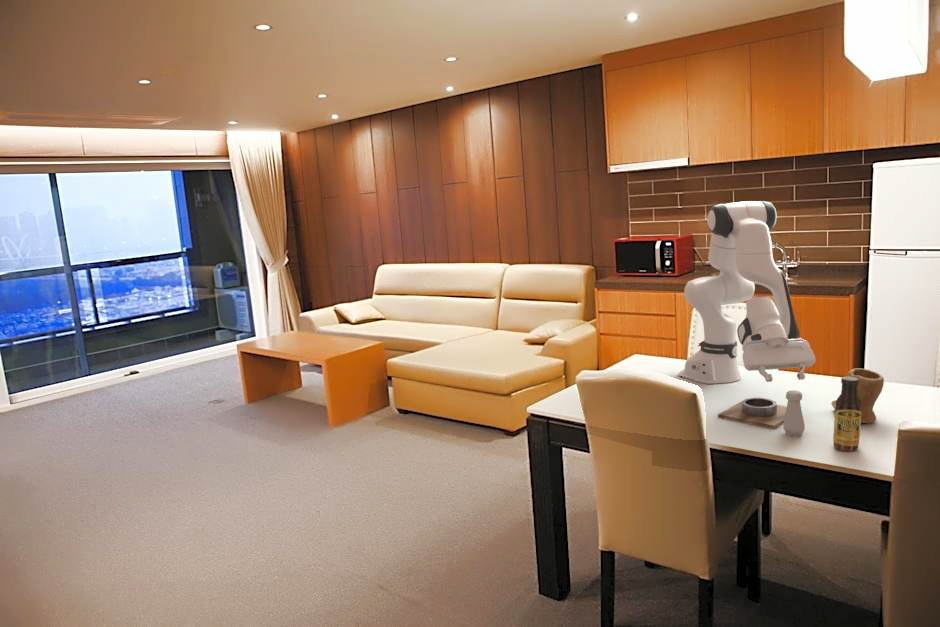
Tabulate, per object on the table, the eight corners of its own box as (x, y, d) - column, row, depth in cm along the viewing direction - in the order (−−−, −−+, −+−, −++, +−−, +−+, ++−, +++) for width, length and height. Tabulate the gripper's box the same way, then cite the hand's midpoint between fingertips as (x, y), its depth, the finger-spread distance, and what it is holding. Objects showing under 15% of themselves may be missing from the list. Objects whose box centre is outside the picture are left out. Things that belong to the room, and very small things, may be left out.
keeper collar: (736, 413, 215) (736, 404, 214) (751, 404, 221) (751, 395, 221) (767, 419, 208) (767, 409, 207) (782, 410, 214) (782, 401, 214)
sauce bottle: (834, 451, 183) (835, 381, 179) (831, 443, 189) (832, 374, 185) (862, 453, 181) (864, 381, 177) (858, 444, 186) (859, 375, 183)
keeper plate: (718, 417, 216) (718, 414, 215) (745, 402, 227) (745, 399, 227) (774, 428, 202) (774, 425, 202) (800, 412, 214) (800, 409, 214)
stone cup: (887, 426, 197) (889, 376, 194) (842, 425, 200) (843, 377, 198) (872, 409, 211) (873, 362, 209) (830, 408, 215) (831, 363, 212)
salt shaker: (779, 431, 200) (779, 389, 198) (799, 430, 200) (799, 387, 198) (788, 438, 194) (788, 395, 192) (808, 437, 194) (808, 393, 192)
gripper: (803, 343, 210) (817, 382, 202) (736, 348, 211) (748, 387, 203) (810, 332, 205) (825, 372, 197) (741, 337, 206) (754, 376, 198)
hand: (785, 379), depth 200 cm, fingers open, 8 cm apart
